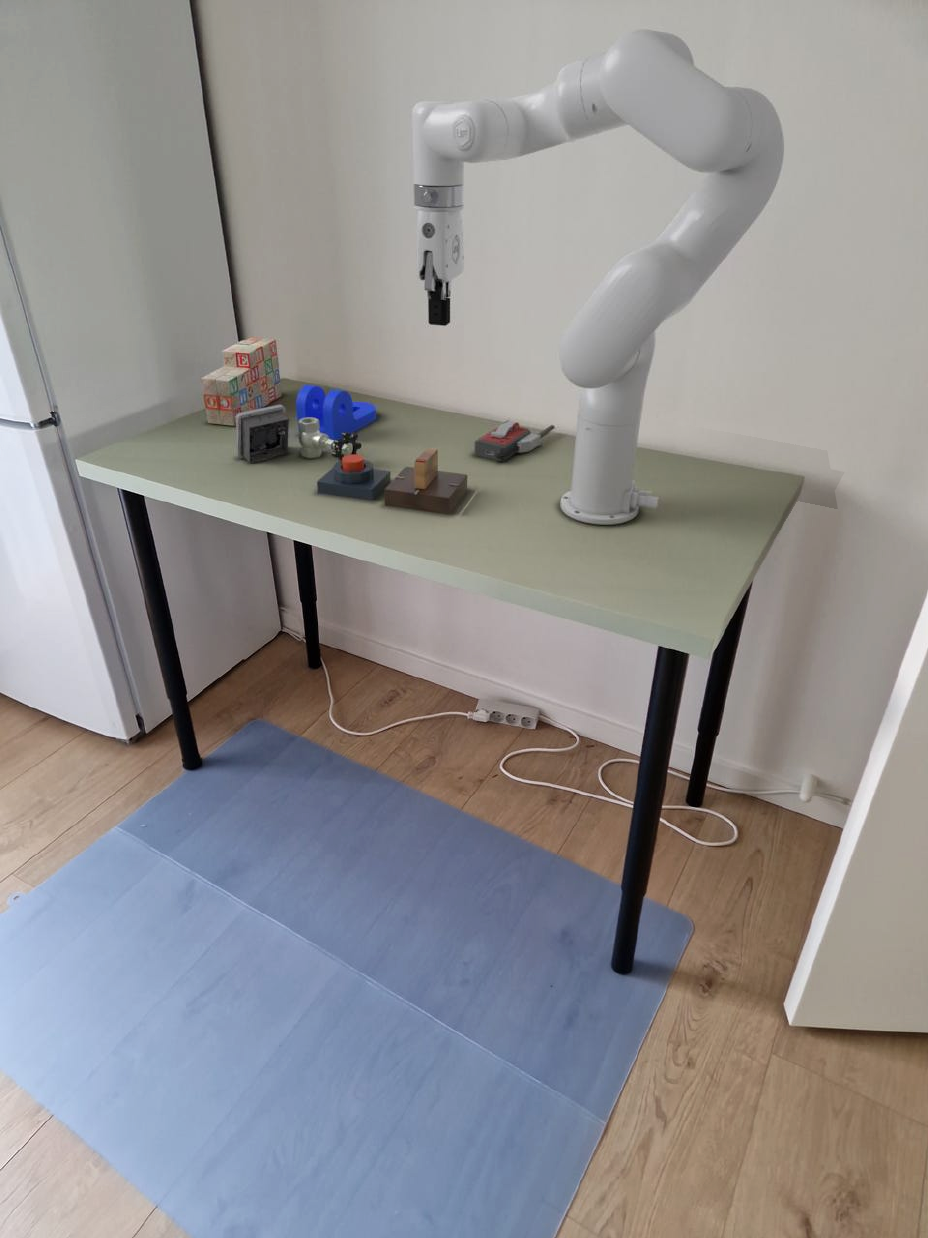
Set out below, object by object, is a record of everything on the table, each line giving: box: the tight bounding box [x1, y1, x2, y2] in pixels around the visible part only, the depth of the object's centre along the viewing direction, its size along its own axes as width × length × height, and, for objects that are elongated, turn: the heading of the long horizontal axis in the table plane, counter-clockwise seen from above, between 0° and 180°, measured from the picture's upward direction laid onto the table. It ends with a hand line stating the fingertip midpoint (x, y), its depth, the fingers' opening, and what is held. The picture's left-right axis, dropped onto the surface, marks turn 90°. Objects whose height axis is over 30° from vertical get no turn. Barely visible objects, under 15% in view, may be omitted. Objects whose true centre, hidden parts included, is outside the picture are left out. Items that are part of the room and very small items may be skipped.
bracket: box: [295, 384, 377, 441], centre depth 162 cm, size 18×8×9 cm, turn 153°
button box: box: [316, 459, 392, 502], centre depth 137 cm, size 10×8×4 cm
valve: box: [297, 417, 363, 464], centre depth 147 cm, size 7×7×12 cm
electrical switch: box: [235, 404, 290, 464], centre depth 147 cm, size 9×5×9 cm, turn 128°
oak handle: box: [413, 447, 439, 489], centre depth 132 cm, size 6×2×5 cm, turn 163°
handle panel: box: [383, 466, 468, 516], centre depth 134 cm, size 11×11×3 cm
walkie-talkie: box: [474, 420, 556, 462], centre depth 154 cm, size 9×4×20 cm
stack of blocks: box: [201, 337, 283, 427], centre depth 169 cm, size 21×6×12 cm, turn 165°
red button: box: [342, 454, 365, 471], centre depth 136 cm, size 4×4×2 cm
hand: (439, 323), depth 132 cm, fingers closed
